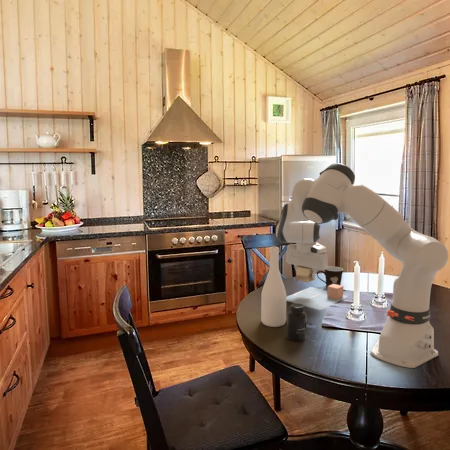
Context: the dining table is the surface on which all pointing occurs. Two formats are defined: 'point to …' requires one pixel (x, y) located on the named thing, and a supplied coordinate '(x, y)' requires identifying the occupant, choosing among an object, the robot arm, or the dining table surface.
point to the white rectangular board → (313, 298)
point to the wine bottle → (273, 294)
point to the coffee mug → (332, 275)
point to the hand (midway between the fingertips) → (305, 276)
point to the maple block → (304, 274)
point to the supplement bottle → (296, 323)
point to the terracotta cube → (335, 291)
